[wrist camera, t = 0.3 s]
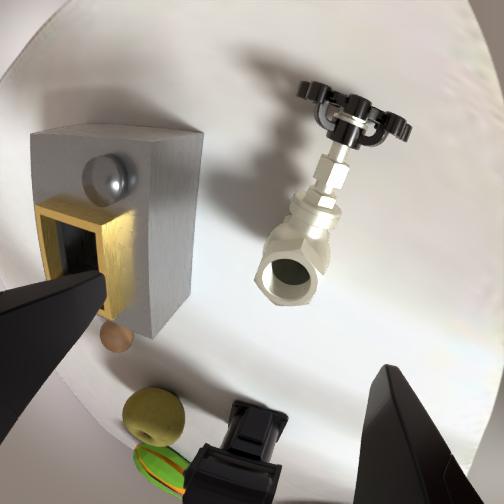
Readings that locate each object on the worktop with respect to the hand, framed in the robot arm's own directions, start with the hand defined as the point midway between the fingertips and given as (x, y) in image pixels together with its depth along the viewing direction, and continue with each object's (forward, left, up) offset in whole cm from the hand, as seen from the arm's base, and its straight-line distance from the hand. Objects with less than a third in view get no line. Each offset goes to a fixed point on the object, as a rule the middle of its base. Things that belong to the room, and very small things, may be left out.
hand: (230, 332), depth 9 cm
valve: (+1, -1, -15) cm, 15 cm away
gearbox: (-4, +14, -14) cm, 20 cm away
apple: (-29, +11, -14) cm, 34 cm away
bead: (-18, +16, -14) cm, 28 cm away
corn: (-51, +9, -15) cm, 54 cm away
